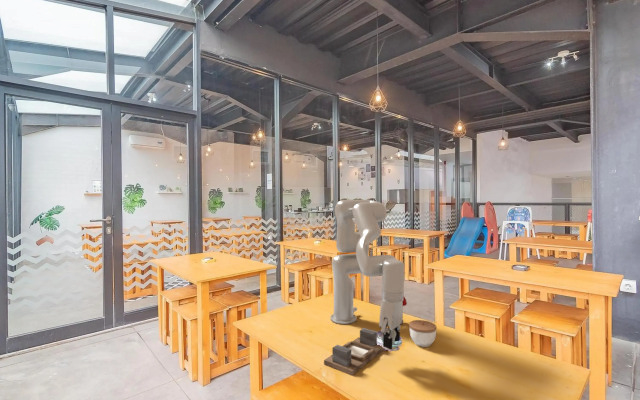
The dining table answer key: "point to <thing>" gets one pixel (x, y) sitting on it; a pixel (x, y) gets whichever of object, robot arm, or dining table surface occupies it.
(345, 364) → the brown tray
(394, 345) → the pacifier
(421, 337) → the lidded jar
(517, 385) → the dining table surface
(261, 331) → the dining table surface
